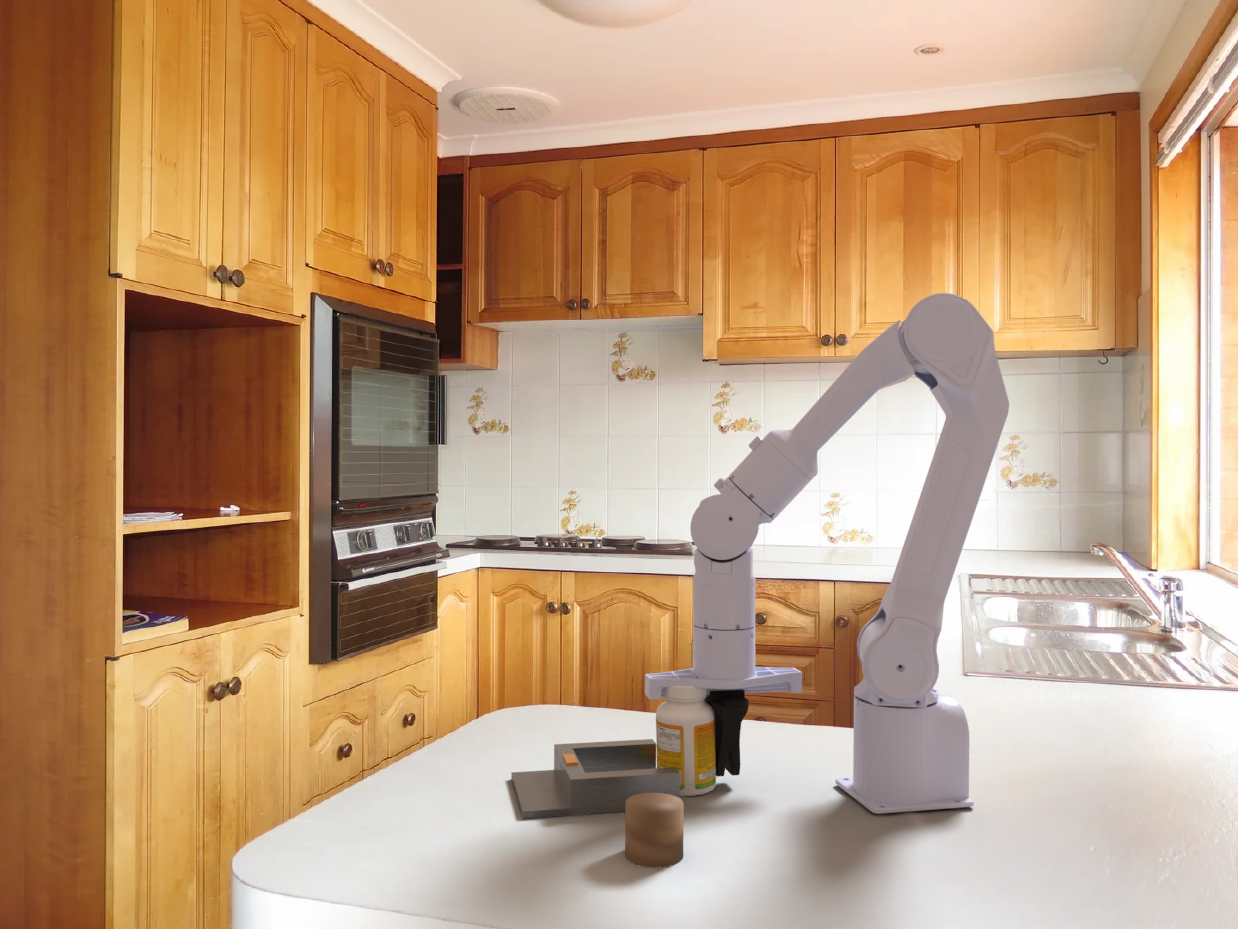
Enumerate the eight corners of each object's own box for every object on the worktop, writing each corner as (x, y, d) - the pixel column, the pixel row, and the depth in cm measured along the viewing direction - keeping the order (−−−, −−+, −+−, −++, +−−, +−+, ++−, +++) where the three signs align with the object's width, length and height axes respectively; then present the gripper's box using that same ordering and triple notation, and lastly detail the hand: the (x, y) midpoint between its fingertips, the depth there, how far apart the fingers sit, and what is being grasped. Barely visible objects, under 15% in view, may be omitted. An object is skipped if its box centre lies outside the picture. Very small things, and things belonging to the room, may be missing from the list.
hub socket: (652, 770, 92) (652, 737, 92) (679, 807, 82) (680, 770, 82) (511, 779, 89) (511, 744, 89) (522, 818, 79) (522, 780, 79)
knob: (674, 842, 75) (675, 791, 75) (690, 865, 71) (690, 811, 71) (619, 846, 74) (620, 794, 74) (632, 870, 70) (632, 815, 70)
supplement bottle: (712, 776, 90) (710, 673, 90) (719, 797, 85) (718, 687, 85) (655, 778, 90) (653, 675, 90) (659, 798, 85) (657, 689, 85)
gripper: (782, 615, 93) (782, 754, 94) (637, 620, 91) (637, 763, 91) (811, 628, 87) (810, 778, 87) (655, 634, 84) (655, 789, 84)
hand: (723, 772), depth 88 cm, fingers closed, pressing on supplement bottle
